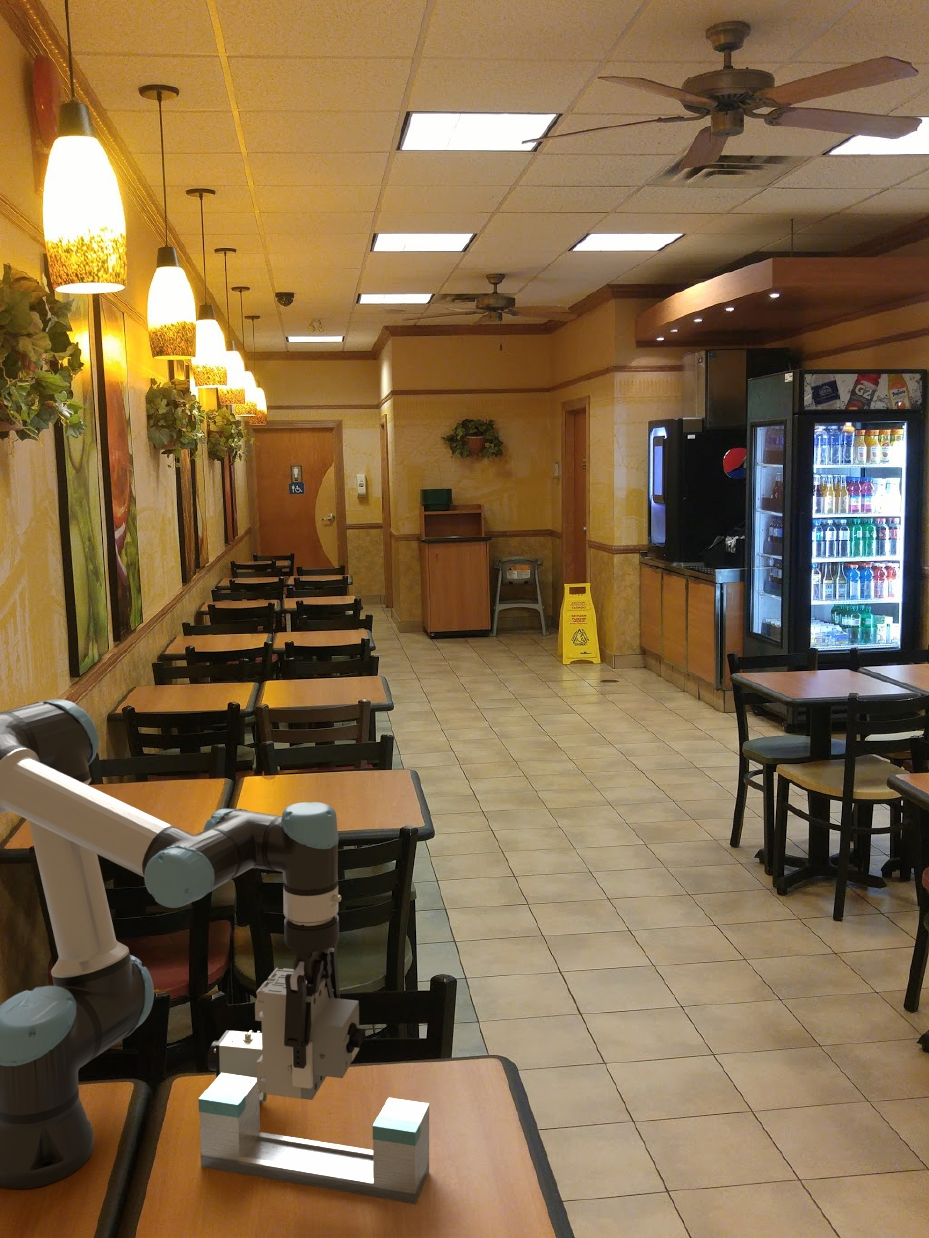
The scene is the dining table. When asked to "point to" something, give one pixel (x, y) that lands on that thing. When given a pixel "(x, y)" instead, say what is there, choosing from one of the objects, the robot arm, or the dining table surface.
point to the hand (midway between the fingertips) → (314, 1069)
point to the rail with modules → (314, 1146)
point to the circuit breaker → (329, 1035)
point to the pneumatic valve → (237, 1055)
